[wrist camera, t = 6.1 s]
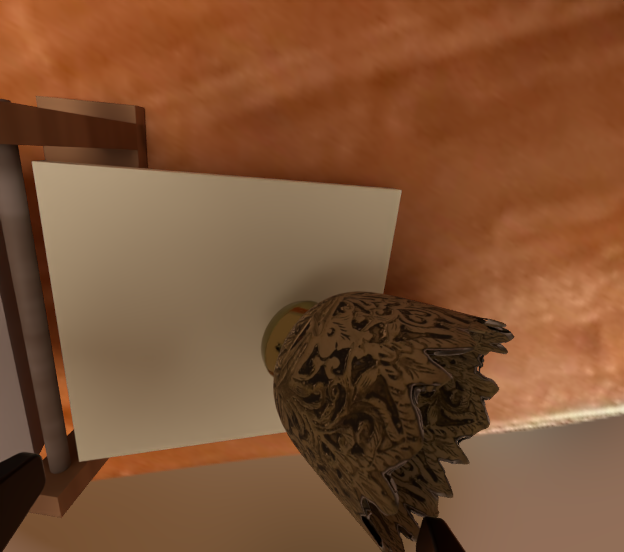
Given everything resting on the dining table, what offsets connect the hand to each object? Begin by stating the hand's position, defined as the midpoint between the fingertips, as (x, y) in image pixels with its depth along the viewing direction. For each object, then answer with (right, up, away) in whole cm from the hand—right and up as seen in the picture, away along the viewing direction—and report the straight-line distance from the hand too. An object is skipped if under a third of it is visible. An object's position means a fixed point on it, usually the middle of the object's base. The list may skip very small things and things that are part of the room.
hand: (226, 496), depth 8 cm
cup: (+1, +3, +8) cm, 8 cm away
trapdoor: (-6, +4, +9) cm, 12 cm away
